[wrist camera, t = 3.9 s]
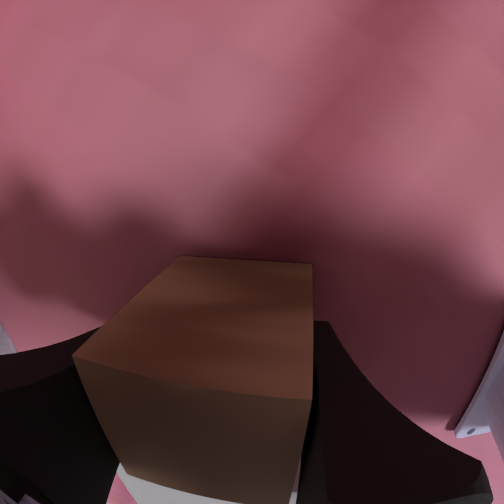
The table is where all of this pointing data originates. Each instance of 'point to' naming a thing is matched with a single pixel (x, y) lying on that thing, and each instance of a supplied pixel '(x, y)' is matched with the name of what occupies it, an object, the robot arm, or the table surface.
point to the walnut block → (208, 378)
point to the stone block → (6, 343)
